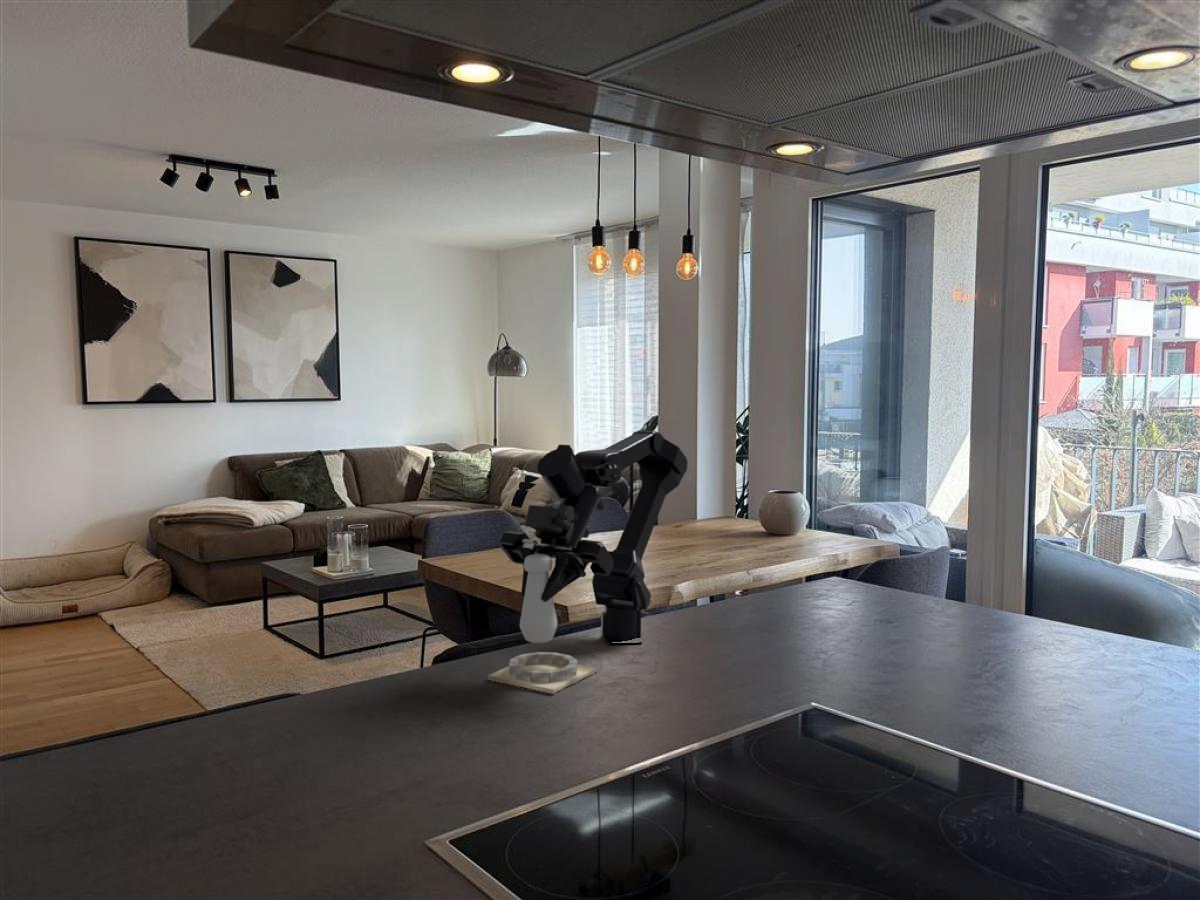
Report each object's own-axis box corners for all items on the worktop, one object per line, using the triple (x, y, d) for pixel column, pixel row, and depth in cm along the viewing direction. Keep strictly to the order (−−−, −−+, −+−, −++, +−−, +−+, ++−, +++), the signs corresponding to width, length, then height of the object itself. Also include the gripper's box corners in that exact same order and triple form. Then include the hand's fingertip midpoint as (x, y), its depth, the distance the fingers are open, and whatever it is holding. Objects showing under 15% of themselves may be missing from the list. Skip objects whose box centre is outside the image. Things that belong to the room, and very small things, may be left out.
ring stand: (534, 660, 143) (534, 646, 143) (596, 673, 137) (596, 658, 137) (488, 680, 133) (488, 665, 133) (553, 695, 127) (553, 679, 127)
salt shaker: (515, 643, 131) (513, 558, 130) (525, 632, 137) (524, 550, 136) (553, 645, 130) (552, 559, 129) (561, 634, 136) (560, 552, 135)
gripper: (504, 481, 140) (460, 562, 131) (603, 488, 130) (563, 576, 122) (533, 522, 147) (493, 601, 139) (629, 532, 137) (593, 618, 129)
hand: (533, 598), depth 132 cm, fingers closed on salt shaker, 3 cm apart
